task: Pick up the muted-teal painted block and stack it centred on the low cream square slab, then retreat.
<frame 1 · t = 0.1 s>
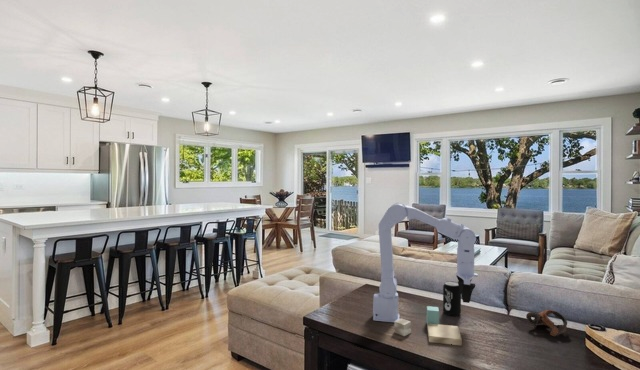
hand: (465, 298, 124), 10 cm above the table, fingers open, 7 cm apart
cream square slab: (443, 336, 116), on the table
teal block: (432, 324, 126), on the table
rusty metal shackles: (545, 331, 121), on the table
cream cube: (402, 332, 119), on the table
beverage can: (451, 313, 136), on the table
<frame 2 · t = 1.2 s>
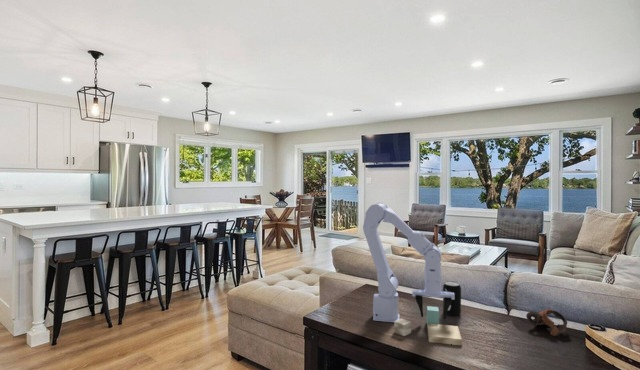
hand: (433, 317, 125), 3 cm above the table, fingers open, 7 cm apart
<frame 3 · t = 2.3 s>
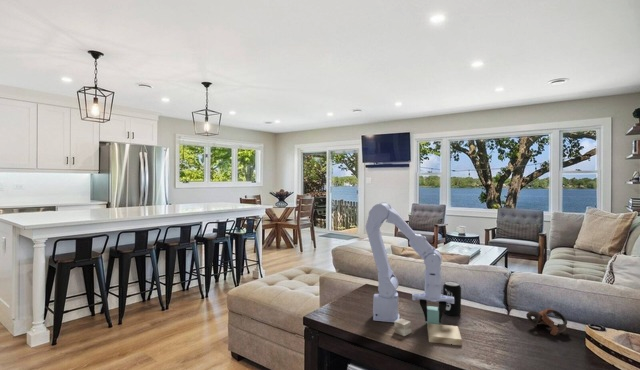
hand: (432, 320, 125), 1 cm above the table, fingers closed on teal block, 4 cm apart
teal block: (432, 324, 126), on the table, touching gripper
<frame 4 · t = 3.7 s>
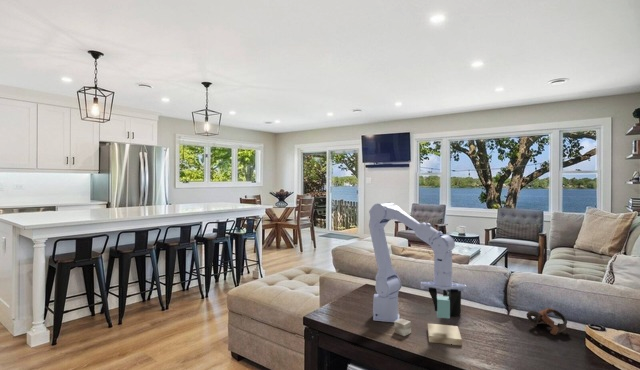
hand: (443, 310, 117), 9 cm above the table, fingers closed on teal block, 4 cm apart
teal block: (443, 315, 117), point 7 cm above the table, touching gripper
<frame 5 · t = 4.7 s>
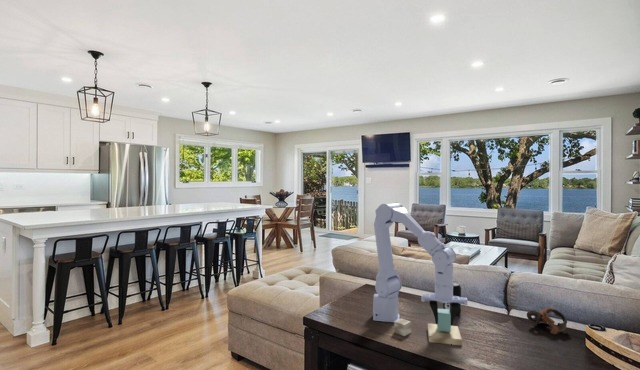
hand: (443, 323, 116), 4 cm above the table, fingers closed on teal block, 4 cm apart
teal block: (443, 328, 116), point 3 cm above the table, touching gripper
when the fingers open (4 cm above the table, at t = 5.3 s): teal block stays where it is, resting on cream square slab.
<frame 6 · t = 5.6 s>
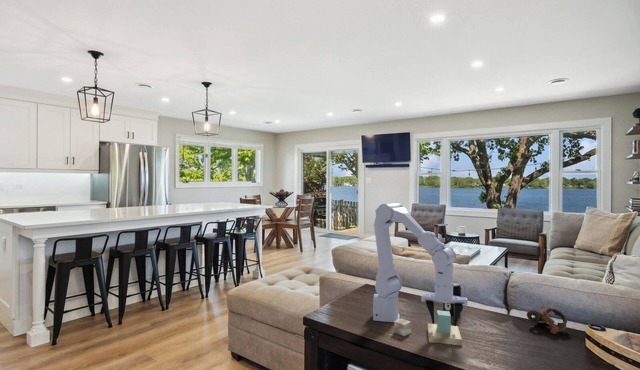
hand: (443, 323, 116), 4 cm above the table, fingers open, 6 cm apart
teal block: (443, 330, 116), point 2 cm above the table, touching cream square slab
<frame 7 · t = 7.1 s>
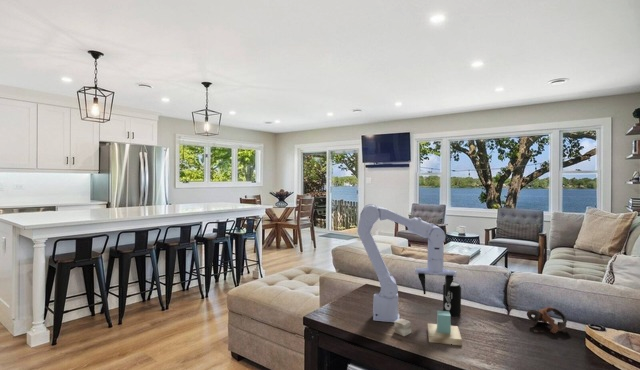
hand: (435, 294, 129), 10 cm above the table, fingers open, 7 cm apart
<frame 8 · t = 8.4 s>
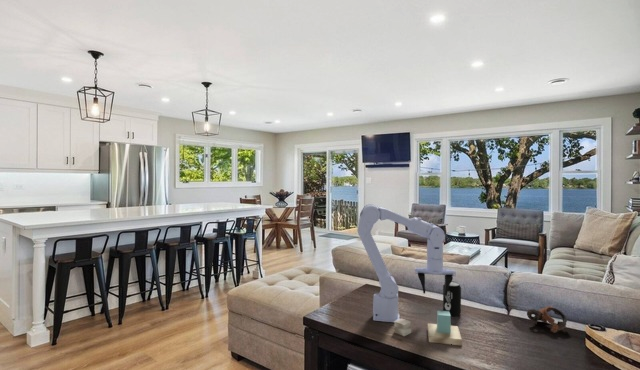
hand: (434, 293, 130), 10 cm above the table, fingers open, 7 cm apart
at the end: teal block 0.2 cm off-centre on the cream square slab, point 2.0 cm above the cream square slab's base; teal block tilted 0°; the gripper is holding nothing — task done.
